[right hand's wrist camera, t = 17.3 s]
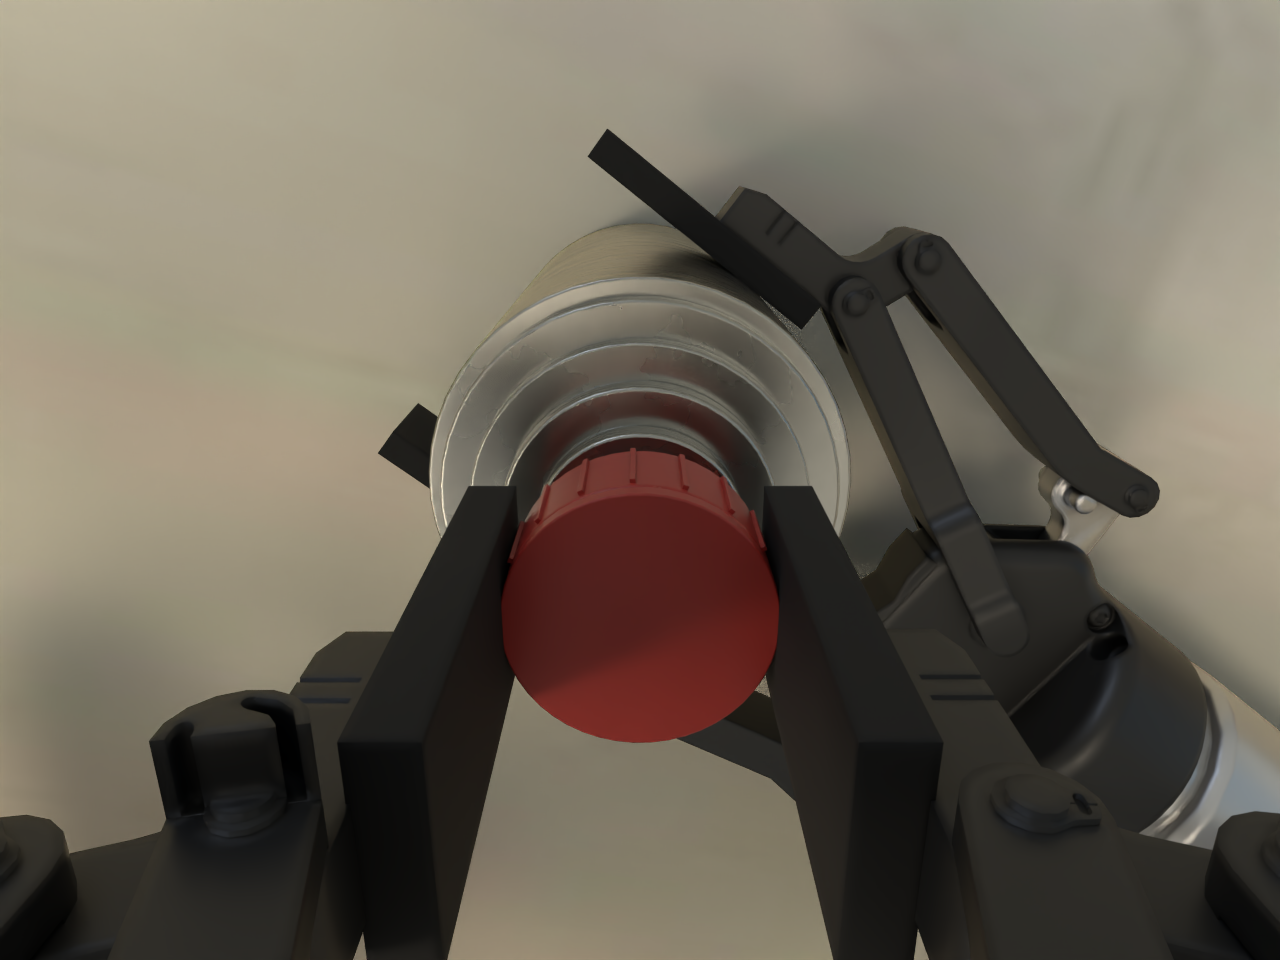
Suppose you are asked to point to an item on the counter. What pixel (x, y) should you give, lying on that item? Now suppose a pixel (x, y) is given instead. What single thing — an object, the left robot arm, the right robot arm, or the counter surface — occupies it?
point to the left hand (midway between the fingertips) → (494, 293)
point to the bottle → (639, 380)
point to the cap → (639, 598)
